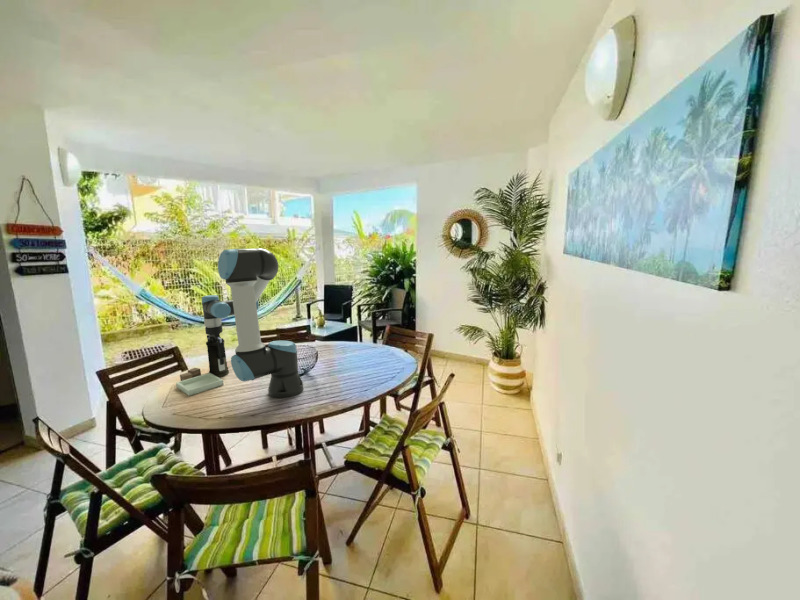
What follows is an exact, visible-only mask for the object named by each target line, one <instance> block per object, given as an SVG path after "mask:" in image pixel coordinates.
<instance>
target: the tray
mask: <svg viewBox="0 0 800 600" xmlns="http://www.w3.org/2000/svg"><path fill="white" fill-rule="evenodd" d="M175 383H176V388H177V390H179V391H181V392H182V393H184V394H185V395H186V396H188V397H190V396H193V395H196V394H200V393H202V392H205V391H209V390H212V389H214V388H218V387H221V386H224V380H223V379H222V378H221V377H217V376H215V375H213V374H211V373H209V372H208V373H204V374H201V375H200V376H197V377H193V378H190V379H187V380H183V381H181V380H180V381H177V382H175Z"/></svg>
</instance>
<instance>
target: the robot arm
mask: <svg viewBox="0 0 800 600" xmlns="http://www.w3.org/2000/svg"><path fill="white" fill-rule="evenodd" d="M217 270H218V274H219V278H220V279H222V280H224V281H225V285H227V286H229V287H230V291H231V299H228V300H221V301H220V298H219V295H215V294H209V295H204V296H202V297H201V306H202V311H203V312H202V314H203V323H204V327H205V328H204V329H205V334H206V339H207V341H212V342H213V343H216V342H217V344H218V348H217V354H218V358H217V359H218V366H219V371H222V370H225V363H224V358H225V357H226V358H227V354H226V347H225V342H224V343H223V340H224V338H223V337H222V338H221V336H220V334H222V333H223V325H222V320H223V319H225V318H227V317H229V316H230V317H231V316H234V320H235V328H236V335H237V337H236V338H237V342H238V345H237V347H236V348H235V350H234V352H235V354H233V355H232V356H231V357H230V364H231V367H232V370H233V373H234V374H235V377H236V378H237V379H238V380H239V381H240V382H249V381H254V380H256V379H260V378H263V377H266V376H268V375H270V376H271V377H270V381H269V385H268V388H267V391H268V392H267V393H268V396H269V397H271V398H275V399H286V398H291V397H294V396H297V395H299V394H301V393H302V391H304V383H303V381H302V378H301V375H300V373H299V364H298V363H299V362H298V351H297V345H296V343H295V342H293V341H292V340H291V341H290V340H273V341H270V342H268V345H267V347H266V344H265V343H264V342H262V339H261V331H260V324H259V323H260V322H259V316H258V311H259V306H260V304H259V303H260V302H259V299H260V297H261V295H262V294H263V292H264V291H265V289H266V288H267V286H268V284H269V283H270V281H272V280H273V279H275V278H276V276H277V274H278V273H279V272H278V271H279V262H278V258H277V257H276V256H275V255H274V253H272V252H271V251H270V250H268V249H265V248H260V247H257V248H256V247H255V248H230V249H229V248H228V249H224V250H222V251H221V253H220V254H219V257H218V261H217ZM224 347H225V348H224Z"/></svg>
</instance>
